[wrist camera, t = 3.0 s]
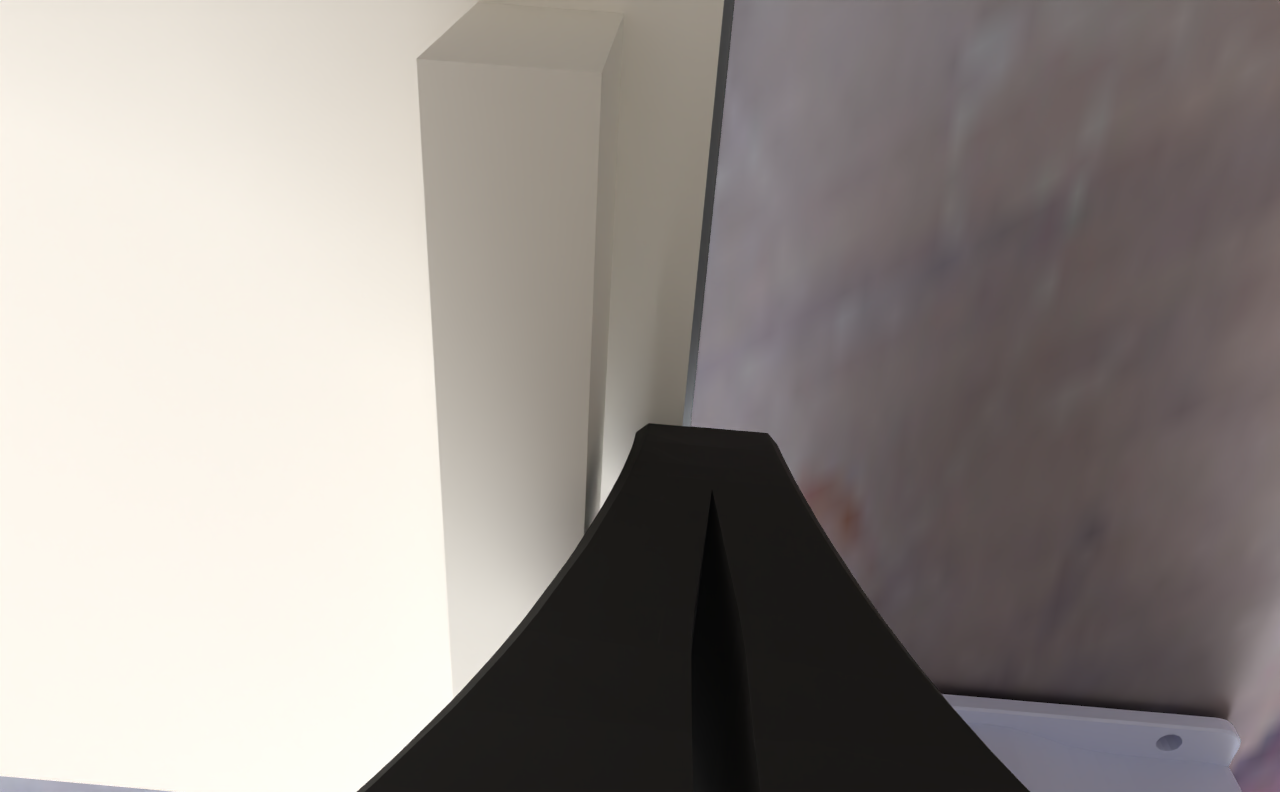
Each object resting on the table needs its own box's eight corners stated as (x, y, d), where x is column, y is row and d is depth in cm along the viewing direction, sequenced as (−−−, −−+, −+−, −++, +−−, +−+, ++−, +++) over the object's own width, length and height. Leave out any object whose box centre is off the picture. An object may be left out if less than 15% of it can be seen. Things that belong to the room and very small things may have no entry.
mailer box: (736, -201, 13) (754, -194, 8) (668, 515, 19) (654, 775, 14) (-450, -284, 13) (-1168, -330, 8) (-136, 447, 20) (-432, 679, 15)
